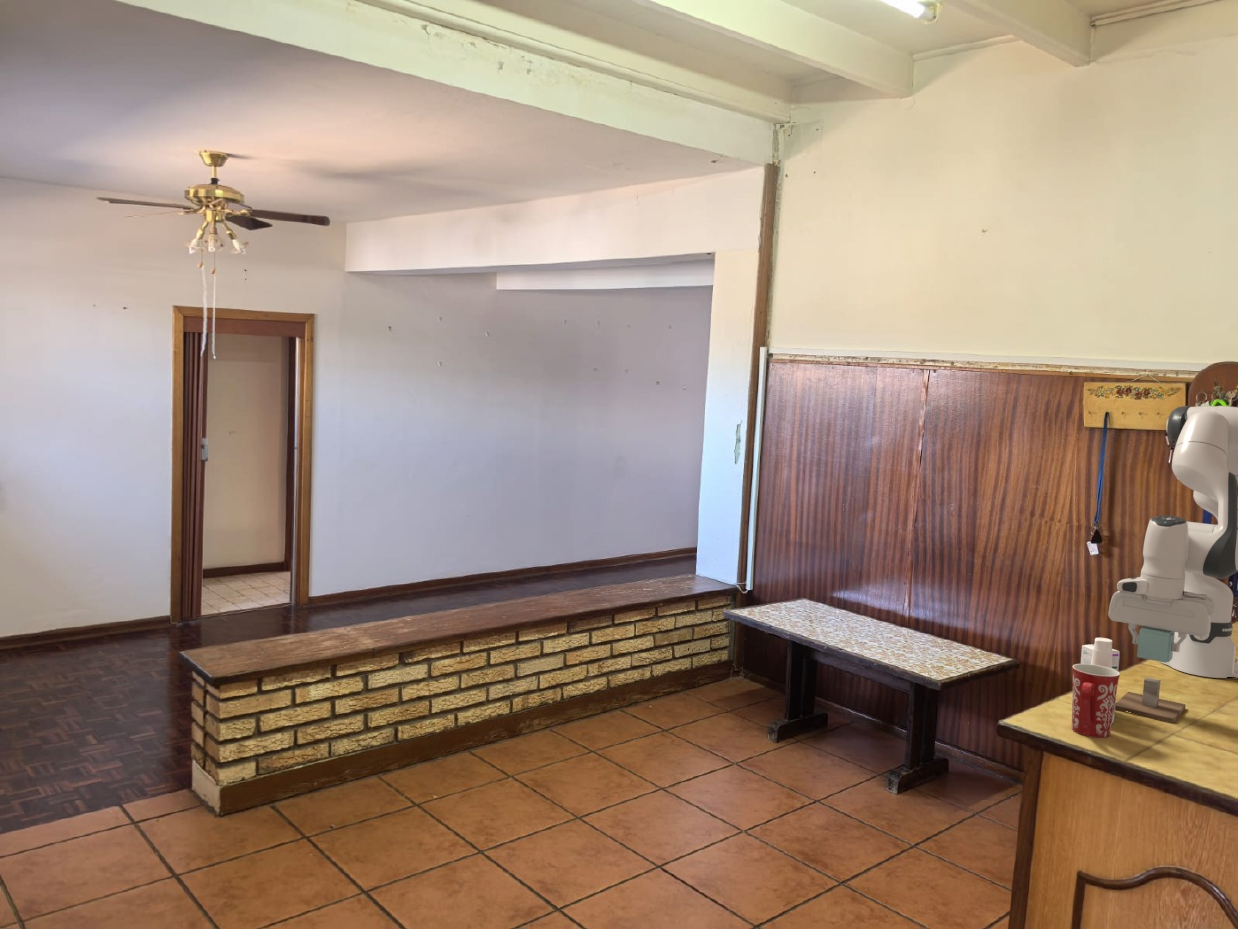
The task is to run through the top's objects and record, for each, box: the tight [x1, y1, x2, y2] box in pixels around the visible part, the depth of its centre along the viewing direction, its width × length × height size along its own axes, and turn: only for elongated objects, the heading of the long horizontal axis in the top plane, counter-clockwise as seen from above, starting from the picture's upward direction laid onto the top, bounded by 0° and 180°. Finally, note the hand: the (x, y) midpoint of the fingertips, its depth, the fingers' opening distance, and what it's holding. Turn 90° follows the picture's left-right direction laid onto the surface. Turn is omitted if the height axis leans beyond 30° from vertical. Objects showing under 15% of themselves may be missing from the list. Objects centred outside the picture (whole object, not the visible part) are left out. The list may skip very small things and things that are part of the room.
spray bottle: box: [1091, 637, 1118, 725], centre depth 209 cm, size 7×7×18 cm
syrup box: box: [1080, 643, 1121, 704], centre depth 216 cm, size 6×6×14 cm
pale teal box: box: [1136, 626, 1175, 663], centre depth 218 cm, size 6×6×7 cm
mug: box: [1071, 663, 1121, 739], centre depth 200 cm, size 13×9×14 cm
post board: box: [1115, 677, 1186, 724], centre depth 219 cm, size 14×12×7 cm
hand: (1155, 647), depth 218 cm, fingers closed on pale teal box, 6 cm apart
